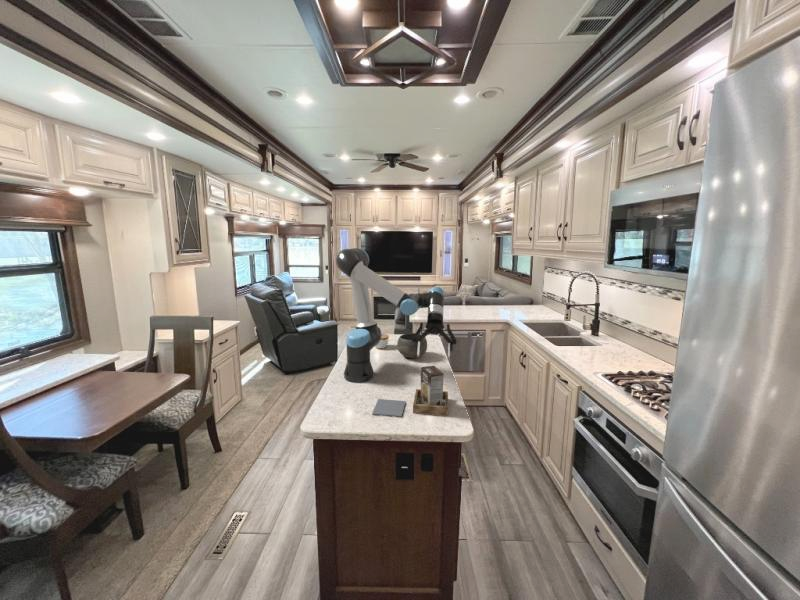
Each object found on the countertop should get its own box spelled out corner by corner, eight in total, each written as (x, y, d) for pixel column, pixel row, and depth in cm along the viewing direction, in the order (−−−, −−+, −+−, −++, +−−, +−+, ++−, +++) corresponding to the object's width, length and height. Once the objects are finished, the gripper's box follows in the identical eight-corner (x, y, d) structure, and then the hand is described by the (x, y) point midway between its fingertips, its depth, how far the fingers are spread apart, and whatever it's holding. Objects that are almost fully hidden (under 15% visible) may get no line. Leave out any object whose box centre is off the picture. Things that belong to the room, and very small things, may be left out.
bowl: (425, 363, 183) (426, 341, 181) (394, 361, 186) (394, 340, 184) (428, 352, 201) (428, 332, 198) (399, 350, 203) (399, 331, 201)
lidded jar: (388, 344, 215) (388, 331, 213) (388, 350, 204) (388, 335, 202) (372, 344, 214) (372, 331, 212) (371, 350, 204) (371, 335, 202)
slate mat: (372, 414, 130) (372, 413, 129) (378, 400, 141) (378, 398, 141) (401, 417, 128) (401, 415, 128) (405, 402, 140) (405, 401, 139)
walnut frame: (412, 412, 131) (413, 404, 131) (416, 396, 145) (416, 389, 144) (447, 415, 129) (447, 407, 129) (447, 398, 143) (447, 391, 142)
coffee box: (419, 401, 140) (420, 366, 137) (433, 399, 142) (434, 364, 139) (428, 412, 132) (429, 375, 129) (442, 409, 134) (444, 373, 131)
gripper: (409, 310, 154) (404, 351, 142) (462, 312, 151) (462, 354, 139) (410, 318, 160) (406, 358, 149) (461, 321, 157) (461, 361, 145)
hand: (433, 356), depth 144 cm, fingers open, 13 cm apart
